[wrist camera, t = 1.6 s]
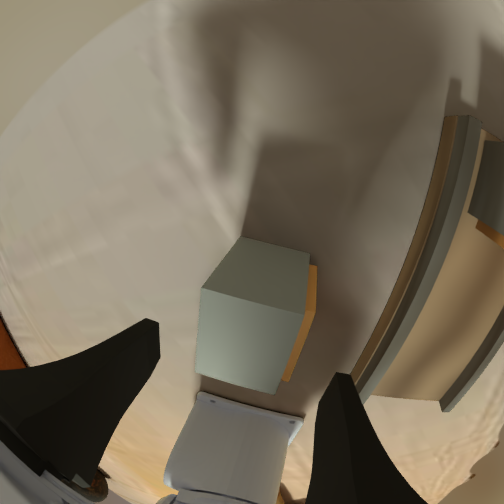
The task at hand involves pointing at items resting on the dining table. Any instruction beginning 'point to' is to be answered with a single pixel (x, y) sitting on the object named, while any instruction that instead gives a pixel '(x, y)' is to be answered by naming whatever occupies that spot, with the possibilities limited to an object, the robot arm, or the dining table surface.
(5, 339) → the bread
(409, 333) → the jaw track
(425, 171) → the dining table surface
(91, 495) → the glass bottle
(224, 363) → the block
